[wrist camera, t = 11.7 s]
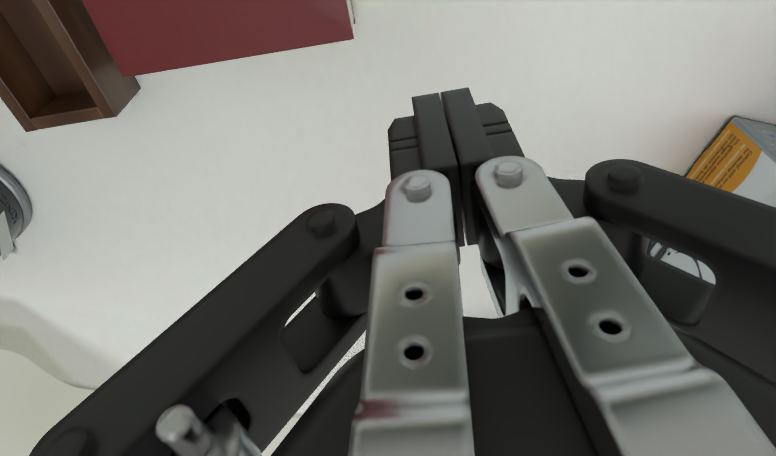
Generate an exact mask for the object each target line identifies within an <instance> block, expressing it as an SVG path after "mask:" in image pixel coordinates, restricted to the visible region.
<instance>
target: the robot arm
mask: <svg viewBox="0 0 776 456" xmlns="http://www.w3.org/2000/svg"><path fill="white" fill-rule="evenodd" d="M412 103H413V110H414V116H409V117H403V118H397V119H394V121H393V123H392V124H391V126H390V127H389V129H388V141H389V156H390V172H391V182H390V184H389V185H388V187H387V189H386V196H385V199H384V200H383V201H382V202H381V203H379V204H378V205H376V206H375V207H373V208H371V209H369V210H366V211H364V212H361V213H359V214H356V215H355V214H354V212H353V211H352V210H351V209H350V208H349V207H347V206H345V205H342V204H336V203H328V204H322V205H318V206H315V207H312V208H310V209H308V210H306V211H304V212H303V213H302V214H300V215H299V216H298V217H297V218H295V219H294V220H293V221H292V222H291V223H290V224H288V225H287V226H286V227H285V228H284V229H283V230H281V231H280V232H279V233H278V234H277V235H276V236H275V237H273V238H272V239H271V240H270V241H269V242H268V243H266V244H265V245H264V246H263V247H262V248H261V249H259V250H258V251H257V252H256V253H255V254H254V255H252V256H251V257H250V258H249V259H248V260H247V261H245V262H244V263H243V264H242V265H241V266H240V267H238V268H237V269H236V270H235V271H234V272H233V273H231V274H230V275H229V276H228V277H227V278H226V279H224V280H223V281H222V282H221V283H220V284H219V285H217V286H216V287H215V288H214V289H213V290H212V291H210V292H209V293H208V294H207V295H206V296H205V297H204V298H202V299H201V300H200V301H199V302H198V303H197V304H195V305H194V306H193V307H192V308H191V309H190V310H188V311H187V312H186V313H185V314H184V315H183V316H181V317H180V318H179V319H178V320H177V321H176V322H174V323H173V324H172V325H171V326H170V327H169V328H167V329H166V330H165V331H164V332H163V333H162V334H160V335H159V336H158V337H157V338H156V339H155V340H153V341H152V342H151V343H150V344H149V345H148V346H146V347H145V348H144V349H143V350H142V351H141V352H140V353H138V354H137V355H136V356H135V357H134V358H133V359H131V360H130V361H129V362H128V363H127V364H126V365H124V366H123V367H122V368H121V369H120V370H119V371H117V372H116V373H115V374H114V375H113V376H112V377H110V378H109V379H108V380H107V381H106V382H105V383H103V384H102V385H101V386H100V387H99V388H98V389H96V390H95V391H94V392H93V393H92V394H91V395H89V396H88V397H87V398H86V399H85V400H84V401H82V402H81V403H80V404H79V405H78V406H77V407H76V408H74V409H73V410H72V411H71V412H70V413H69V414H67V415H66V416H65V417H64V418H63V419H62V420H60V421H59V422H58V423H57V424H56V425H55V426H53V427H52V428H51V429H50V430H49V431H48V432H47V433H46V434H45V435H44V436H43V437H42V438H41V439H40V441H39V442H38V443H37V445H36V446H35V447H34V449H33V450H32V452H31V453H30V455H29V456H262V455H261V453H262V452H263V451H264V450H265V448H266V447H267V446H268V445H269V444H270V443H271V441H272V440H273V439H274V438H275V437H276V435H277V434H278V433H279V432H280V431H281V429H282V428H283V427H284V426H285V425H286V424H287V422H288V421H289V420H290V419H291V418H292V417H293V415H294V414H295V413H296V412H297V411H298V409H299V408H300V407H301V406H302V405H303V404H304V402H305V401H306V400H307V399H308V398H309V396H310V395H311V394H312V393H313V392H314V391H315V389H316V388H317V387H318V386H319V385H320V383H321V382H322V381H323V380H324V379H325V378H326V376H327V375H328V374H329V373H330V372H331V370H332V369H333V368H334V367H335V366H336V365H337V363H338V362H339V361H340V360H341V359H342V357H343V356H344V355H345V354H346V353H347V352H348V350H349V349H350V348H351V347H352V346H353V344H354V343H355V342H356V341H357V340H358V339H359V337H360V336H361V335H362V334H363V333H364V331H365V330H366V338H365V349H363V350H362V351H360V352H359V353H357V354H356V355H355V356H353V357H352V358H351V359H350V360H348V361H347V362H346V363H345V364H344V365H343V366H342V367H341V368H340V369H339V370H338V371H337V372H336V373H335V375H334V376H333V377H332V378H331V379H330V381H329V382H328V383H327V385H326V386H325V387H324V388H323V390H322V391H321V392H320V393H319V395H318V396H317V397H316V399H315V400H314V401H313V402H312V404H311V405H310V406H309V408H308V409H307V410H306V411H305V413H304V414H303V415H302V416H301V418H300V419H299V420H298V422H297V423H296V424H295V425H294V427H293V428H292V429H291V430H290V432H289V433H288V434H287V436H286V437H285V438H284V440H283V441H282V442H281V443H280V445H279V446H278V447H277V448H276V450H275V451H274V452H273V453H272V455H271V456H776V207H773V206H770V205H767V204H764V203H761V202H758V201H755V200H752V199H749V198H746V197H743V196H740V195H737V194H734V193H731V192H728V191H725V190H722V189H719V188H716V187H713V186H710V185H707V184H704V183H701V182H698V181H695V180H692V179H689V178H686V177H684V176H681V175H678V174H675V173H672V172H669V171H666V170H663V169H660V168H657V167H654V166H651V165H648V164H645V163H642V162H638V161H634V160H626V159H614V160H607V161H603V162H600V163H598V164H595V165H594V166H592V167H591V168H590V169H589V170H588V171H587V173H586V176H585V180H565V179H556V178H551V177H547V176H546V175H545V173H544V171H543V170H542V168H541V167H540V166H539V165H538V164H537V163H536V162H534V161H532V160H530V159H528V158H525V156H524V154H523V152H522V150H521V148H520V145H519V143H518V141H517V139H516V137H515V135H514V133H513V132H512V128H511V126H510V124H509V123H508V120H507V118H506V116H505V113H504V111H503V110H502V109H500V108H499V107H497V106H495V105H494V104H492V103H491V102H490V103H485V104H479V105H475V104H474V101H473V98H472V96H471V93H470V90H469V88H462V89H456V90H450V91H445V92H441V100H440V96H439V93H434V94H428V95H422V96H416V97H412ZM31 215H32V211H31V205H30V202H29V199H28V197H27V195H26V193H25V192H24V190H23V189H22V187H21V186H20V185H19V184H18V182H17V181H16V180H15V179H14V178H13V177H12V176H11V175H10V174H9V173H7V172H6V171H5V170H4V169H3V168H1V167H0V256H1V255H2V256H3V260H5V259H6V258H7V256H8V255H9V254H10V253H11V252H12V250H13V249H14V248H13V244H12V242H13V240H14V239H16V238H17V237H18V236H19V235H20V234H21V233H22V232H23V231H24V230H25V228H26V227H27V226H28V224H29V223H30V220H31ZM463 228H464V231H463ZM464 232H465V237H466V241H467V245H474V244H478V246H479V250H480V260H481V270H482V273H483V276H484V278H485V281H486V284H487V287H488V289H489V292H490V295H491V298H492V300H493V303H494V306H495V309H496V311H497V314H498V317H499V318H497V319H488V318H474V317H463V307H462V297H461V287H460V276H459V264H460V249H459V247H461V246H465V242H464ZM650 239H651V240H653V241H655V242H658V243H660V244H662V245H664V246H667V247H669V248H671V249H674V250H676V251H678V252H680V253H683V254H685V255H687V256H690V257H692V258H694V259H696V260H699V261H701V262H702V263H704V264H705V265H706V266H708V267H709V268H710V269H711V271H712V272H713V274H714V276H715V280H716V282H715V284H712V283H710V282H708V281H705V280H703V279H701V278H699V277H697V276H695V275H692V274H690V273H688V272H686V271H684V270H682V269H679V268H677V267H675V266H673V265H671V264H669V263H666V262H664V261H662V260H660V259H658V258H655V257H653V256H651V255H649V254H647V253H646V252H647V248H648V244H649V240H650ZM314 292H315V294H316V296H315V297H314V298H313V299H312V300H311V301H310V302H309V303H308V304H307V305H306V306H305V307H304V308H303V309H302V310H301V311H300V312H299V313H298V314H297V315H296V316H295V317H294V318H293V319H292V320H291V321H290V322H289V323H288V324H287V325H286V327H285V324H286V322H287V320H288V319H289V317H290V316H291V315H292V314H293V313H294V312H295V311H296V310H297V309H298V308H299V307H300V306H301V305H302V304H303V303H304V302H305V301H306V300H307V299H308V298H309V297H310V296H311V295H312V294H313V293H314ZM284 327H285V328H284Z"/></svg>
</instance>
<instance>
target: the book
mask: <svg viewBox="0 0 776 456" xmlns="http://www.w3.org/2000/svg"><path fill="white" fill-rule="evenodd" d="M81 1H82V2H83V4H84V6H85V8H86V10H87V12H88V14H89V15H90V17H91V19H92V21H93V23H94V25H95V27H96V28H97V30H98V32H99V34H100V36H101V38H102V40H103V41H104V43H105V45H106V47H107V49H108V51H109V53H110V54H111V56H112V58H113V60H114V62H115V64H116V66H117V67H118V69H119V71H120V73H121V75H122V77H123V78H124V77H130V76H136V75H142V74H148V73H154V72H160V71H166V70H172V69H178V68H184V67H190V66H196V65H202V64H208V63H214V62H220V61H226V60H232V59H238V58H244V57H250V56H256V55H261V54H267V53H273V52H279V51H285V50H291V49H297V48H303V47H309V46H315V45H321V44H327V43H333V42H339V41H345V40H351V39H354V36H353V24H355V19H354V14H353V9H352V3H351V0H81Z"/></svg>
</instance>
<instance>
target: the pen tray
mask: <svg viewBox="0 0 776 456" xmlns="http://www.w3.org/2000/svg"><path fill="white" fill-rule="evenodd" d="M139 90H140V86H139V84H138V83H137V81H136V79H135V77H134V76H130V77H124V78H123V77H122V75H121V73H120V71H119V69H118V67H117V66H116V64H115V62H114V60H113V58H112V56H111V54H110V53H109V51H108V49H107V47H106V45H105V43H104V41H103V40H102V38H101V36H100V34H99V32H98V30H97V28H96V27H95V25H94V23H93V21H92V19H91V17H90V15H89V14H88V12H87V10H86V8H85V6H84V4H83V2H82V1H81V0H0V97H1V99H2V100H3V101H4V103H5V104H6V105H7V107H8V108H9V110H10V111H11V112H12V114H13V115H14V116H15V118H16V119H17V120H18V122H19V123H20V124H21V126H22V127H23V128H24V130H25V131H26V132H29V131H34V130H38V129H44V128H50V127H56V126H62V125H68V124H74V123H80V122H86V121H92V120H97V119H103V118H111V117H116V116H117V115H118V114H119V113H120V112H121V111H122V110H123V108H124V107H125V106H126V105H127V104H128V103H129V101H130V100H131V99H132V98H133V97H134V96H135V94H136V93H137V92H138V91H139Z"/></svg>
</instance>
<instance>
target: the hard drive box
mask: <svg viewBox="0 0 776 456" xmlns="http://www.w3.org/2000/svg"><path fill="white" fill-rule="evenodd" d="M686 178H689V179H692V180H695V181H698V182H701V183H704V184H707V185H710V186H713V187H716V188H719V189H722V190H725V191H728V192H731V193H734V194H737V195H740V196H743V197H746V198H749V199H752V200H755V201H758V202H761V203H764V204H767V205H770V206H773V207H776V126H774V125H770V124H766V123H761V122H757V121H752V120H748V119H743V118H738V117H734V118H733V119H732V120H731V121H730V122H729V123H728V125H727V126H726V127H725V128H724V130H723V131H722V132H721V134H720V135H719V136H718V137H717V138H716V140H715V141H714V142H713V144H712V145H711V146H710V147H709V148H708V149H707V150H705V151H704V152H703V154H702V155H701V156H700V157H699V159H698V160H697V162H696V163H695V164H694V166H693V167H692V169H691V171H690V172H689V173H688V175H687V176H686ZM646 253H647V254H649V255H651V256H653V257H655V258H658V259H660V260H662V261H664V262H666V263H669V264H671V265H673V266H675V267H677V268H679V269H682V270H684V271H686V272H688V273H690V274H692V275H695V276H697V277H699V278H701V279H703V280H705V281H708V282H710V283H712V284H715V282H716V280H715V276H714V274H713V272H712V271H711V269H710V268H709V267H708V266H706V265H705V264H704V263H702V262H701V261H699V260H696V259H694V258H692V257H690V256H687V255H685V254H683V253H680V252H678V251H676V250H674V249H671V248H669V247H667V246H664V245H662V244H660V243H658V242H655V241H653V240H651V239H650V240H649V244H648V248H647V252H646Z"/></svg>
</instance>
